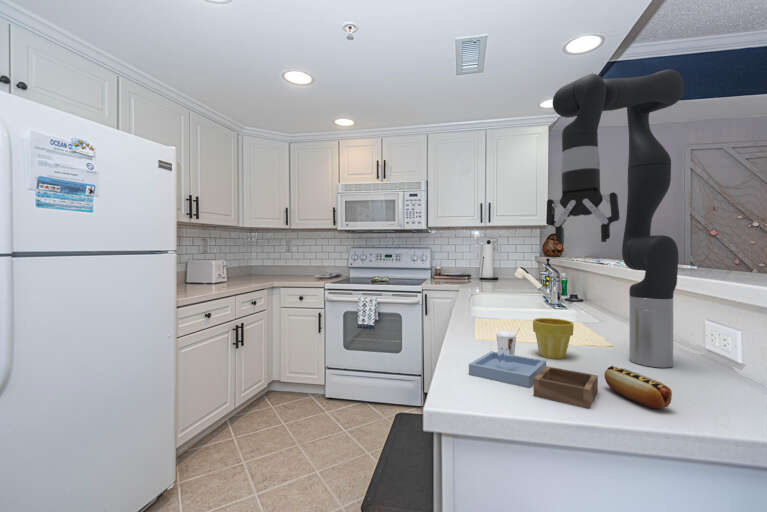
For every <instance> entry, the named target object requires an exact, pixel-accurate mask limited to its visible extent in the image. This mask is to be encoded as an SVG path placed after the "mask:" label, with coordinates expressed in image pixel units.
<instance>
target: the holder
mask: <svg viewBox="0 0 767 512" xmlns="http://www.w3.org/2000/svg"><path fill="white" fill-rule="evenodd" d="M598 378H599V375H597V374H592V373H586V372H580V371H575V370H568V369H565V368H564V369H563V368H559V367H552V366H547V365H546V367H545V368H544V369H543V370H542V371H541V372H540V373H539V374H538V375H537V376H536V377H535V378H534V384H533V396H534V397H537V398H538V397H539V398H543V399H547V400H551V401H555V402H558V403H563V404H567V405H568V404H569V405H571V406H577V407H581V408H585V409H588V410H589V409H591V407H592V404H593V402H594V401H595V398H596V397H597V394H598V392H599V389H598V387H599V386H598V385H599V384H598V383H599V381H598V380H599V379H598Z"/></svg>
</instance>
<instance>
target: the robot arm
mask: <svg viewBox="0 0 767 512" xmlns="http://www.w3.org/2000/svg"><path fill="white" fill-rule="evenodd" d="M684 89H685V87H684V79H683V77H682V76H681V73H679V72H678V71H676V70H674V69H671V68H670V69H663V70H661V71H657V72H654V73H652V74H649V75H648V74H647V75H642V76H636V77H635V76H634V77H623V78H621V77H619V78H616V77H615V78H602V77H601V75H599V74H596V73H590V74H586V75H585V76H581V77H580V78H578V79H575V80H574V81H571V82H570V83H567V84H565V85H564V86H563V85H562V86H561V87H560V88H559V89H558V90H557V91H556V92H555V93H554V96H553V98H552V108H553V110H554V112H555V113H556V114H557V115H559V116H560V117H562V118H574V117H576V118H574V120H573V121H572V122H570V123H568V124H567V125H566V126H565V127H564V128H563V129H562V132H561V148H562V149H561V152H562V154H561V162H560V163H561V164H560V166H561V167H560V172H561V197H560V199H552V198H551V199H550V198H549V199H547V201H546V215H545V216H546V219H545V220H546V221H545V223H546V225H549V226H551V227H553V228H554V232H555V240H556V242H558V244H561V245H562V244H563V245H564V243H565V234H564V233H565V231H564V229H565V228H564V227H563V225H564V224H565V223H566V222H567V221H568V220H569V219H570V217H571V216H572V217H579V216H590V215H594V216H595V218H597V219H598V220H599V221H600V223H602V224H601V225H600V234H601V235H600V236H601V237H600V242H601V243H607V240H609V239H610V237H611V227H610V226H611V225H612V223H614V222H617V221H619V220H620V209H619V197H618V194H617V193H616V192H614V191H612V192H610V193H608V194H607V193H605V194H602V192H601V169H600V168H601V166H600V164H601V163H600V153H599V139H598V135H599V134H598V129H599V125H600V121H601V117H602V114H603V112H607V111H609V112H611V111H617V110H621V109H624V108H626V113H627V114H626V115H627V116H626V117H627V126H628V127H627V128H628V129H627V130H628V162H627V163H628V164H627V202H626V216H625V225H624V232H623V238H622V245H621V247H622V248H621V249H622V250H621V256H622V260H623V262H624V264H625V266H626V267H627V268H628V269H630V270H634V271H642V272H643V271H644V272H645V273H644V277H643V279H642V280H641V281H639V282H637V283H634V284H631V285H630V286H629V348H628V349H629V353H628V354H629V355H628V356H629V361H631V363H634V364H638V365H641V366H646V367H651V368H652V367H653V368H672V367H673V366H674V292H675V290H676V288H677V283H678V271H679V249H678V245H677V243H676V242H675V240H674V239H673V238H672V237H670V236H668V235H664V234H663V235H662V234H661V235H651V229H652V222H653V217H654V214H655V212H656V211H657V209H658V208H659V206H660V204H661V203H662V201H663V200H664V199H665V196H666V194H667V193H668V192H669V191H668V190H669V189H670V186H671V181H672V158H671V156H670V154H669V153H668V151H667V150H666V149H665V147H664V146H663V145H662V143H660V142H659V140H658V139H657V138H656V137H655V135H654V134H653V132H652V131H651V127H650V113H654V112H656V111H659V110H662V109H663V110H664V109H666V108H669V107H671V106H673V105H676V103H678V102H679V101H681V99H682V96H683V95H684V91H685V90H684ZM603 201H605V203H606V204H607V205H609V207H610V215H611V216H608V217H607V216H606V215H605V214H604V213H603V212H602V211H601V210H600V209H599V207H600V205H601V204H602V203H603ZM559 205H560V206H561V207H562V208H563V209H564V210H562V212H561V214H560V215H559V217H558V218H557V220H555V216H556V215H555V214H556V210H557V209H558V207H559Z"/></svg>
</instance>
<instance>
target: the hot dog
mask: <svg viewBox="0 0 767 512" xmlns="http://www.w3.org/2000/svg"><path fill="white" fill-rule="evenodd" d="M604 380H605V383H606V385H608V387H609V388H610V389H611V390H613V391H614V392H616V393H617V394H619V395H621V396H623V397H624V398H626V399H628V400H631V401H633V402H635V403H637V404H641V405H643V406H645V407H648V408H651V409H664V408H668V407H669V405H671V402H672V397H673V392H672V389H671V388H670V387H669V386H667V385H666V384H664V383H662V382H660V381H658V380H656V379H653V378H650V377H648V376H646V375H642V374H641V373H638V372H635V371H632V370H629V369H627V368H619V367H617V366H614V365H611V366H608V367H607V369H606V370H605V371H604Z"/></svg>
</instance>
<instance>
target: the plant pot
mask: <svg viewBox="0 0 767 512" xmlns="http://www.w3.org/2000/svg"><path fill="white" fill-rule="evenodd" d="M532 332H534V333H535V338H536V343H537V347H538V353H539V355H540V356H542V357H543V358H549V359H557V360H558V359H559V360H560V359H565V358H566V356H567V353H568V347H569V344H570V340H571V337H573V335H574V322H573V321H570V320H566V319H561V318H553V317H537V318H534V319H533V320H532Z"/></svg>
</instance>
